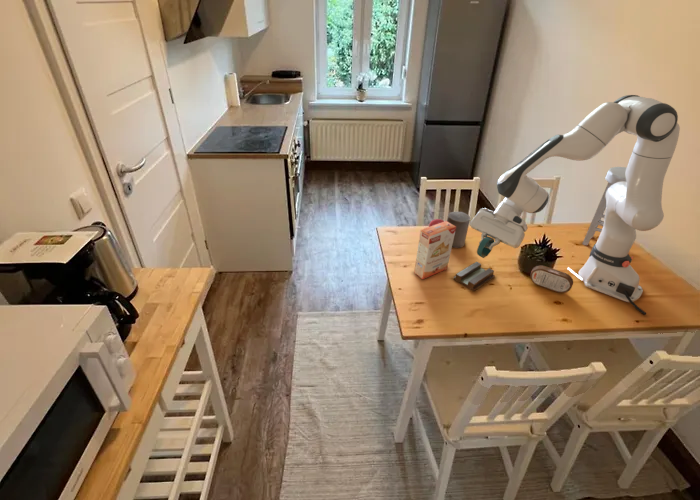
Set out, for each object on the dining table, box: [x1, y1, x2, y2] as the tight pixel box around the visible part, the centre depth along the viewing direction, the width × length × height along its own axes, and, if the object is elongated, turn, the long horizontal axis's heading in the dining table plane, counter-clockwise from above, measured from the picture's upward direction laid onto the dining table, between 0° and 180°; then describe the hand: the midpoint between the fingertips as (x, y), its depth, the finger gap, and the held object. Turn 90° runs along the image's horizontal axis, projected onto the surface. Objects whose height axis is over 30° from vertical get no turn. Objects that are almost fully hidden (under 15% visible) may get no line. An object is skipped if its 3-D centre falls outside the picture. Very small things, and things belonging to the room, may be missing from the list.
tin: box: [529, 265, 574, 294], centre depth 149 cm, size 15×3×8 cm, turn 56°
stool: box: [581, 166, 627, 246], centre depth 170 cm, size 16×16×35 cm
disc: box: [476, 236, 495, 259], centre depth 146 cm, size 2×8×8 cm, turn 130°
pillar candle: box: [446, 211, 471, 249], centre depth 174 cm, size 10×10×15 cm
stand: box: [452, 261, 495, 292], centre depth 155 cm, size 10×14×3 cm
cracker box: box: [413, 220, 456, 280], centre depth 153 cm, size 14×6×21 cm, turn 123°
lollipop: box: [428, 218, 445, 227], centre depth 169 cm, size 8×8×15 cm
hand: (485, 246), depth 145 cm, fingers closed on disc, 2 cm apart
